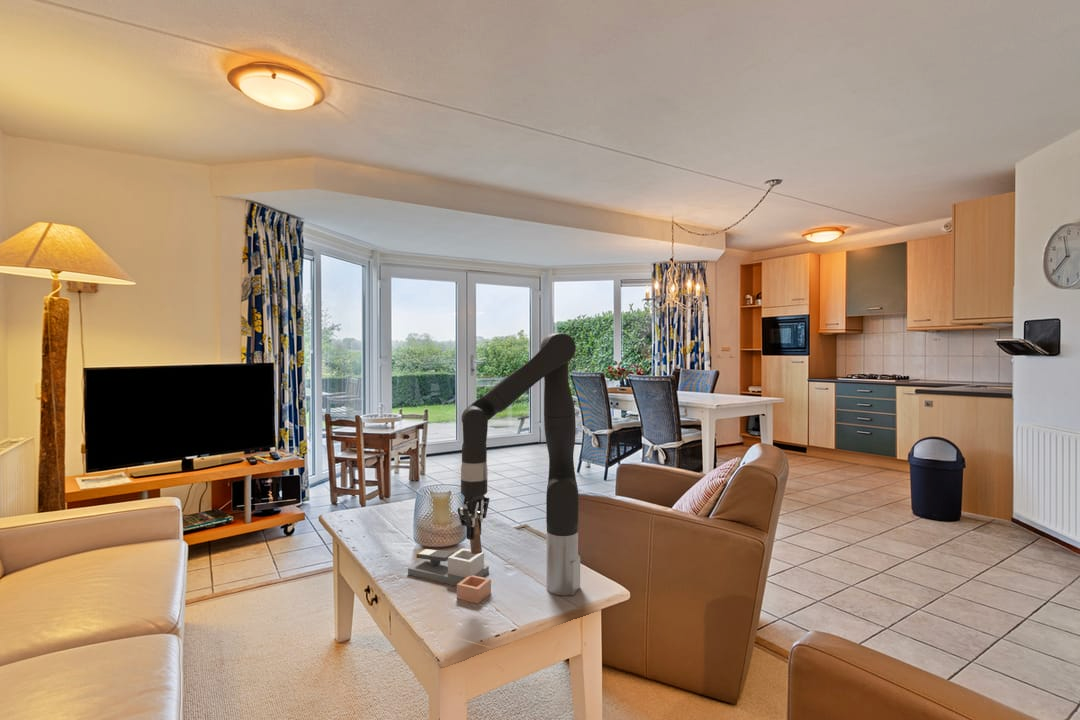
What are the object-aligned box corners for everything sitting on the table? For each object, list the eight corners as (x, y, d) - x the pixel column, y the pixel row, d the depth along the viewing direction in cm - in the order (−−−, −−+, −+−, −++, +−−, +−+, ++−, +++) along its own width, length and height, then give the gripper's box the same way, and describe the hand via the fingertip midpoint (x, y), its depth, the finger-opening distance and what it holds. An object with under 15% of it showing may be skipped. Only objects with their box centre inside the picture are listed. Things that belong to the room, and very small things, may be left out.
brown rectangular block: (483, 550, 150) (479, 512, 150) (478, 554, 147) (473, 515, 147) (475, 550, 151) (470, 512, 151) (469, 554, 148) (464, 515, 148)
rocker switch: (454, 555, 166) (454, 551, 166) (445, 561, 161) (445, 557, 161) (426, 552, 171) (426, 548, 171) (416, 558, 166) (416, 554, 166)
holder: (490, 592, 151) (490, 579, 151) (478, 603, 145) (478, 589, 145) (470, 588, 154) (470, 574, 154) (456, 598, 148) (456, 584, 148)
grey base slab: (488, 572, 165) (488, 550, 165) (467, 588, 154) (467, 564, 154) (431, 560, 174) (431, 539, 174) (408, 574, 163) (407, 552, 163)
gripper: (472, 484, 141) (471, 548, 141) (497, 473, 153) (497, 531, 154) (448, 481, 144) (448, 543, 144) (476, 470, 157) (475, 527, 157)
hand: (474, 536), depth 149 cm, fingers closed on brown rectangular block, 3 cm apart
